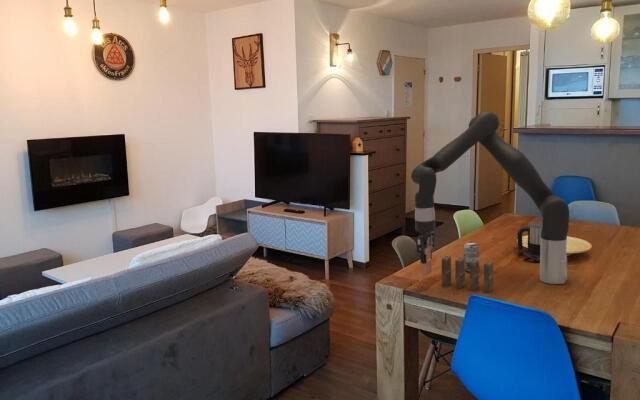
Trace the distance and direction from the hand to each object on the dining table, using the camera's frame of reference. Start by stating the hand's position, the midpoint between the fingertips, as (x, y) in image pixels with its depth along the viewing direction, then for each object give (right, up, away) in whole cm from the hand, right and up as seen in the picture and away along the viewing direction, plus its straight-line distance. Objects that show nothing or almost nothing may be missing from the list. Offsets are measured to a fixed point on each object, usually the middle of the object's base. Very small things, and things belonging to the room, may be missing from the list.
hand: (426, 261), depth 197 cm
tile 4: (+9, -10, +5) cm, 14 cm away
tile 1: (+23, -11, -4) cm, 26 cm away
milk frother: (+57, -3, +33) cm, 66 cm away
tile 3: (+14, -10, +2) cm, 17 cm away
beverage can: (+24, -7, +20) cm, 32 cm away
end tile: (0, -5, +1) cm, 5 cm away
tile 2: (+18, -10, -1) cm, 21 cm away
